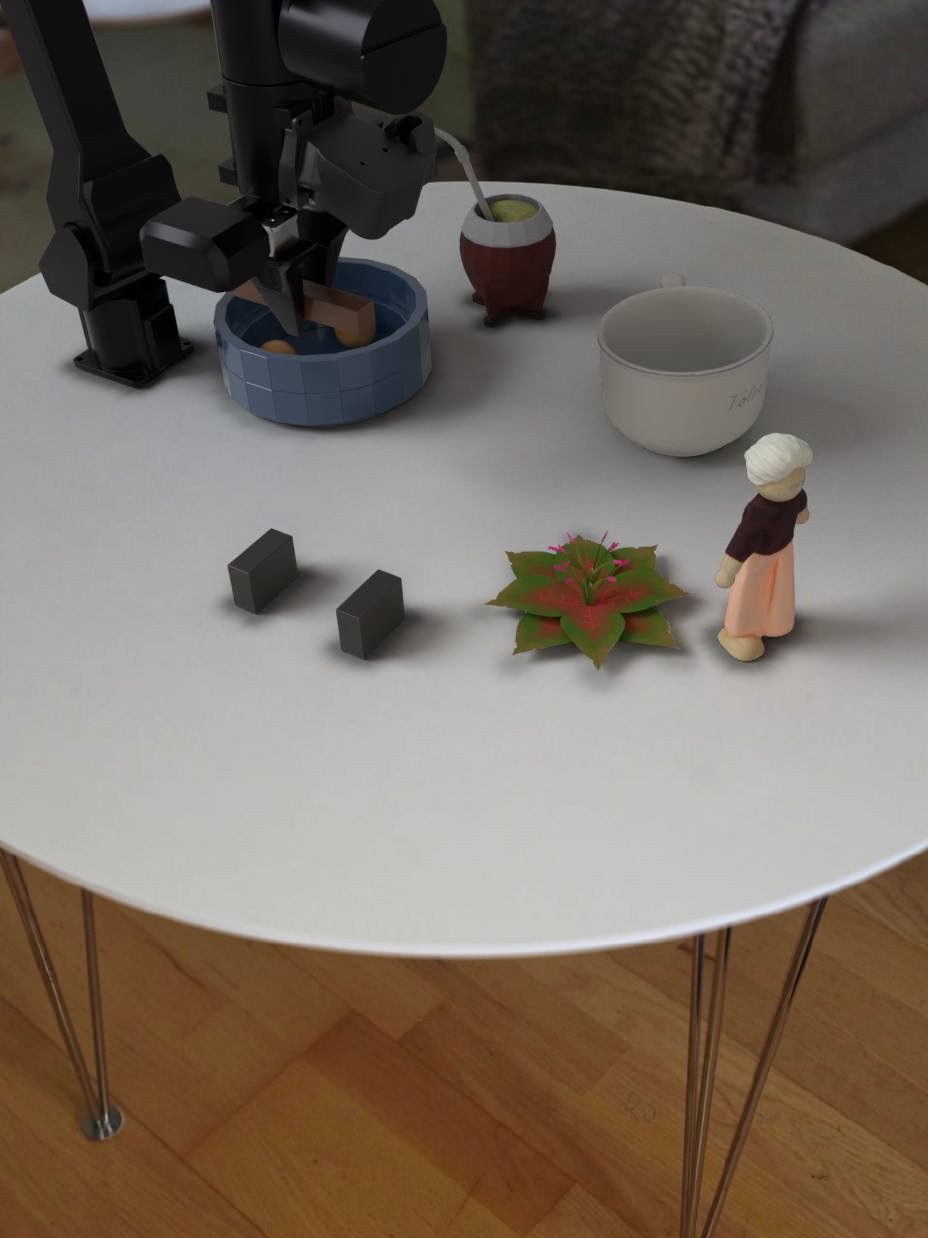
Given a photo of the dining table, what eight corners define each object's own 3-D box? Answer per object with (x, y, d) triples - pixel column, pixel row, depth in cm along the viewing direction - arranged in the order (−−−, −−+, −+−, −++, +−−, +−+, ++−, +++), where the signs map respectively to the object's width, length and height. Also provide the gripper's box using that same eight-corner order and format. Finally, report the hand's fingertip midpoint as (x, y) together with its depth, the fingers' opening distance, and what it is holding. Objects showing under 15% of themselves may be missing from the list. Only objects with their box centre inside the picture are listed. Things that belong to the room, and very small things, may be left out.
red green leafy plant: (679, 537, 82) (684, 474, 79) (710, 675, 73) (717, 609, 70) (478, 545, 82) (476, 483, 79) (485, 684, 73) (482, 620, 70)
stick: (234, 295, 84) (230, 271, 83) (250, 284, 85) (247, 261, 84) (359, 336, 80) (357, 311, 78) (376, 324, 81) (374, 299, 79)
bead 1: (249, 384, 96) (243, 347, 94) (276, 365, 97) (271, 327, 95) (283, 396, 94) (277, 357, 92) (309, 375, 96) (304, 338, 94)
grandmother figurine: (763, 683, 72) (791, 487, 64) (696, 658, 74) (715, 464, 65) (816, 600, 77) (849, 408, 69) (752, 579, 79) (777, 389, 70)
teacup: (756, 485, 85) (770, 373, 80) (584, 470, 87) (586, 360, 82) (765, 369, 96) (778, 264, 90) (610, 359, 97) (614, 254, 92)
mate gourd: (571, 299, 104) (574, 102, 94) (519, 345, 99) (516, 142, 89) (488, 277, 107) (482, 84, 98) (433, 321, 103) (421, 123, 93)
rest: (234, 605, 79) (226, 565, 77) (277, 567, 81) (271, 527, 79) (364, 660, 75) (359, 619, 73) (405, 618, 77) (401, 577, 75)
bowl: (183, 397, 96) (169, 326, 92) (310, 307, 105) (301, 240, 101) (351, 454, 90) (343, 382, 86) (470, 354, 99) (467, 284, 95)
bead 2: (328, 350, 99) (323, 312, 97) (352, 331, 101) (348, 294, 99) (362, 360, 97) (358, 322, 96) (386, 341, 99) (382, 304, 97)
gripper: (280, 161, 63) (315, 441, 74) (496, 37, 75) (499, 295, 85) (107, 115, 68) (162, 384, 79) (334, 5, 80) (356, 253, 90)
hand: (305, 327), depth 83 cm, fingers closed on stick, 2 cm apart
